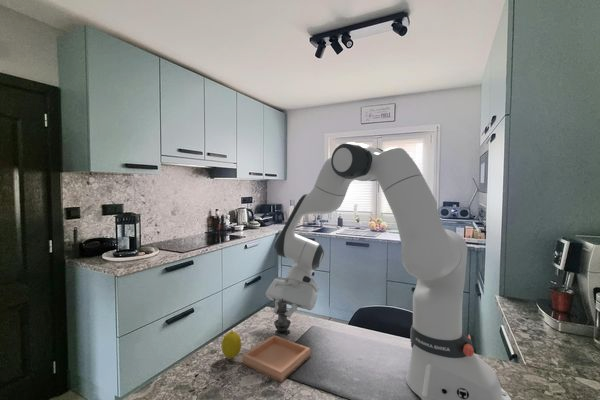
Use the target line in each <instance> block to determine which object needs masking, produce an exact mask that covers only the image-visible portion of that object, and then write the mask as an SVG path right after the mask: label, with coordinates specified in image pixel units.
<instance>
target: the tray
mask: <svg viewBox="0 0 600 400" xmlns="http://www.w3.org/2000/svg"><path fill="white" fill-rule="evenodd" d="M310 358H311V347H308V346H305V345H303V344H300V343H297V342H294V341H291V340H290V339H286V338H283V337H282V336H277V335H276V334H274V335H272V336H271V337H268V338H267V339H266V340H263V342H261V343H259V344H257V345H256V346H254V347H253V348H252V349H250V350H249V351H247V352H245V353H244V354H242V364H243V365H245V366H247V367H249V368H251V369H253V370H255V371H257V372H259V373H260V374H263V375H265V376H267V377H269V378H272V379H274V380H275V381H277V382H280V383H282V382H284V380H286V379H287V378H288V377H289V376H290V375H292V373H295V371H296V370H297V369H299V368H300V366H302V365H303V364H304V363H305V362H306V361H307V360H308V359H310ZM305 360H306V361H305ZM304 361H305V362H304ZM303 362H304V363H303ZM302 363H303V364H302Z"/></svg>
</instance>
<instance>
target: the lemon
mask: <svg viewBox="0 0 600 400" xmlns="http://www.w3.org/2000/svg"><path fill="white" fill-rule="evenodd" d="M241 339H242V338H241V337H240V335H239V333H237V332H236V331H233V330H231V331H229V332H227V333H226V334H225V335H224V336H223V338H222V341H221V351H222V354H223V355H224V357H225V358H229V359H231V360H233V359H234V358H235V357H236V356H238V355H239V353H240V351H241V349H242V340H241Z"/></svg>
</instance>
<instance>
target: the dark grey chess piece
mask: <svg viewBox="0 0 600 400" xmlns="http://www.w3.org/2000/svg"><path fill="white" fill-rule="evenodd" d="M287 305H288V304H287V303H286V302H285V301H283V298H282V301H280V302H279V304H278V311H277V312H278V314H277V319H275V321H274V322H273V323H274V327H275V329H276V330H275V331H274V335H275V336H278V337H285V336H289V335H290V333H291V331H290V330H289V329H290V325H291V323H292V322H291V320H289V318H288V317H286V316H285V313H286V310H287V311H288V309H287V307H288V306H287Z"/></svg>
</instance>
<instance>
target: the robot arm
mask: <svg viewBox="0 0 600 400" xmlns="http://www.w3.org/2000/svg"><path fill="white" fill-rule="evenodd" d="M353 181H359V182H376V181H377V182H378V185H379V186H380V189H381V190H382V193H383V194H384V195H383V196H384V197H385V199H386V201H387V204H388V206H389V208H390V210H391V212H392V214H393V216H394V219H395V220H394V221H395V222H396V226H397V230H398V233H399V239H400V244H401V253H400V260H401V263H402V264H401V265H402V266H403V267H404V269H405V271H406V272H407V273H408V274H409V275H411V276H412V277H414V278H415V279H416V280H417V281H416V285H415V289H414V291H413V293H412V323H411V325H410V327H411V328H410V347H411V353H410V360H409V361H410V362H409V366H408V369H407V372H406V376H405V381H406V384H407V386H408V387H409V388H410V390H412V391H413V393H414V394H415V395H417V396H418V397H419V398H420V400H512V398H511V396H510V395H509V394H508V392H507V391H506V390H505V389H503V387H501V384H500V381H499V378H498V376H497V374H496V372H495V371H494V369H493V368H492V367H491V366H490V365H488V364H487V362H485V361H484V360H483V359H481V357H479V356H478V355H477V354H476V353H475V352H474V346H473V341H472V340H471V335H470V334H468V336H467V335H466V334H465V333H464V332H463V297H464V290H465V282H466V274H467V273H466V271H467V263H468V262H467V259H468V244H467V242H466V241H465V239H464V238H463V236H462V235H460V234H458V233H457V232H455V231H453V230H450V229H446V228H445V227H444V225H443V223H442V220H441V215H440V213H439V210H438V202H437V200H436V198H435V196H434V194H433V192H432V191H431V189H430V187H429V185H428V182H427V181H426V179H425V177H424V175H423V174H422V172H421V170H420V169H419V167H418V165H417V164H416V162H415V160H414V159H413V158H412V157H411V156H410V154H409V153H408V152H407V151H406V150H405V149H404V148H402V147H397V146H394V147H388V148H387V149H384V150H383V149H381V148H378V147H375V146H372V145H370V144H365V143H357V142H344V143H340V144H339V145H337V146H336V147H335V149H334V150H333V152H332V154H331V157H329V158H328V159H326V160H325V162H324V163H323V165H322V167H321V169H320V171H319V173H318V175H317V178H316V181H315V183H314V186H313V188H312V189H311V190H310V192H309V193H306V194H303V195H302V196H301V197H300V198H299V199H298V201H297V203H296V204H295V206H294V208H293V209H292V211H291V213H290V215H289V217H288V219H287V221H286V222H285V224H284V226H283V228H282V230H281V232H280V233H279V234H278V235H277V237H276V239H275V240H274V241H275V242H274V246H273V247H274V250H275V252H276V254H277V256H280V257H282V258H285V259H289V260H291V261H293V262H294V263H293V265H291V267H290V268H289V270H288V272H287V275H286V276H285V277H282V276H278V277H276V278H274V279H273V280H272V282H271V283H270V284H269V286H268V287H267V289H266V291H265V296H266V298H267V299H268V300H270V301H273V302H274V305H275V306H274V309H273V313H274V315H275V314H276V315H278V312H277V311H278V304H279V302H280V301H282V298H283V301H285V302H286V303H287V305H288V306H290V308H289V309H287V310H286V313H285V316H286V317H287V319H290V318H291V317H292V314H293V313H295V312H296V311H297V310H298V308H299V309H303V310H307V311H311V310H313V309H314V308H315V305H316V303H317V299H318V293H319V292H320V291H319V290H320V287H319V286H318V283H317V282H316V281H315V279H314V278H312V275H313V272H314V271H315V270H317V269H318V268H319V267H320V265H321V262H322V259H323V258H324V255H325V251H324V248H323V246H322V245H321V244H320V243H318V242H317V241H315V240H313V239H310V238H307V237H304V236H302V235H299V234H298V233H296V231H295V230H296V228H297V227H298V225H299V224H300V221H301V220H302V218H303V217H304V216H306V215H310V214H311V215H312V214H313V215H315V214H317V215H325V214H331V213H334V212H336V211H338V209H340V208H341V206H342V204H343V202H344V199H345V198H346V195H347V192H348V189H349V186H350V185H351V183H352V182H353Z"/></svg>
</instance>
